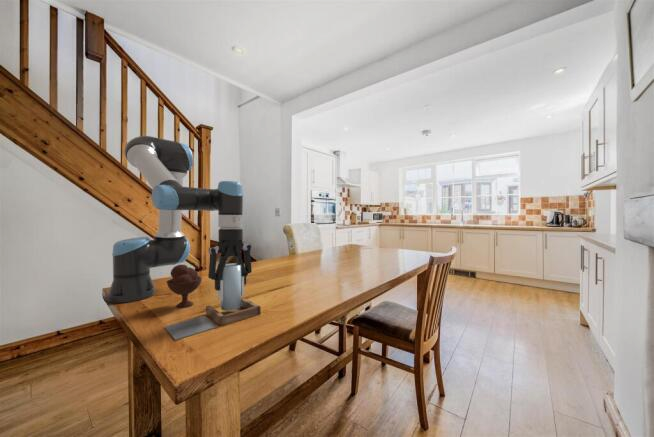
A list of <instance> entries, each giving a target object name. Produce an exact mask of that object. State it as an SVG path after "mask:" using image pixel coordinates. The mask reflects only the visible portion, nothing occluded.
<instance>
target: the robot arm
mask: <svg viewBox="0 0 654 437" xmlns="http://www.w3.org/2000/svg"><path fill="white" fill-rule="evenodd" d="M124 157H125V159H126V160H127V162H128V163H129V164H130V165H131V166H133V167H135V168H136V169H137V170H138V172H139V173H140V174H141V175H142V177H143V178H144V179H145V181H146V182H147V184H148V185H149V186H150V187H151V189H152V191H151V202H152V205H153V207H154V208H156V209H157V210H158V231H156V233H154V235H153V239H150V237H148V236H141V237H134V238H133V237H132V238H126V239H121V240H118V241H116V242H115V243H114V244H113V246H112V253H111V254H112V274H113V276H112V279H113V280H112V283H111V285H110V287H109V290H108V293H107V302H109V303H115V304H117V303H118V304H119V303H127V302H128V303H129V302H136V301H140V300H144V299H148V298H150V297H152V296H154V295H155V294H156V287H155V283H154V282H153V280H152V277H151V273H150V272H151V271H150V270H151V269H152V268H157V267H158V268H159V267H166V266H174V265H175V266H176V265H179V264H182V263H184V262H185V261H186V260H187V259H188V258H189V255H190V253H191V252H190V251H191V245H190V240H189V238H187V237H185V236H186V234H185V233H184V232H183V231H182V222H183V220H182V217H183V216H182V215H183V211H206V212H214V211H218V217H217V218H218V221H217V223H218V224H217V225H218V226H217V227H218V228H219V229H218V244H217V245H216V246H214V247H209V248H208V253H209V263H208V265H209V266H208V273H207V274H208V275H207V276H208V279H210V280H213V281H214V290H215V291H217V300H219V301H220V302H221V301H223V280H221V277H222V273H223V270H224V267H225V264H227V262H228V259H229V258H230V257H234V259H235V263H236V264H239V265H241V297H242V296H243V297H244V296H245V286H246V285H247V276H248V275H249V274H252V270H253V269H252V260H251V249H252V245H251V244H247V243H245V244H244V242H243V239H244V237H243V236H244V233H243V230H244V229H243V228H242V227H243V226H244V225H243V222H244V221H243V203H244V200H243V199H244V198H243V197H244V196H243V195H244V194H243V184H242V183H241V182H239V181H235V180H220V181H219V182H218V186H217V188H201V187H190V186H184V177H186V176H187V175H188V172H189V171H191V170H192V168H193V165H194V155H193V152H192V150H191V148H190V147H189V146H188V145H187V144H185V143H181V142H179V141H174V140H169V139H165V138H161V137H156V136H152V135H151V136H150V135H141V136H136V137H134V138H132V139H130V140H129V141H128V142H127V143H126V145H125V147H124ZM242 250H243V259H242V253H241V251H242ZM218 251H220V256H219V262H218V263H217V258H218V256H217V254H218V253H219V252H218ZM243 260H244V261H243Z"/></svg>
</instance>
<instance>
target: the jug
mask: <svg viewBox="0 0 654 437" xmlns="http://www.w3.org/2000/svg"><path fill="white" fill-rule="evenodd" d="M221 280H223V301H220V309H221V311H226V312H227V311H228V312H230V311H235V310H239V309H240V308H241V307H242V306H241V298H242V296H241V265H239V264H237V262H235V263H233V262H232V263H226V264H225V267H224V270H223V273H222V277H221Z"/></svg>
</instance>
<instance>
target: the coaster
mask: <svg viewBox="0 0 654 437" xmlns="http://www.w3.org/2000/svg"><path fill="white" fill-rule="evenodd" d="M216 328H219V326H218V325H217V324H216V323H215V322H213V321H212V320H211V319H209V318H208V317H207V315H206V316H205V315H201V316H197V317H195V318H191V319H187V320H184V321H183V320H182V321H179V322H176V323H172V324H167V325H165V326H164V329H166V331H167V332H168V333H169V334H170V336H171V337H172V338H173V339H174V341H179V340H181V339H184V338H188V337H190V336H191V337H192V336H195V335H197V334H198V335H199V334H200V333H203V332H208V331H211V330H213V329H216Z"/></svg>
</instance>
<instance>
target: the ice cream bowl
mask: <svg viewBox="0 0 654 437" xmlns="http://www.w3.org/2000/svg"><path fill="white" fill-rule="evenodd" d="M170 276H171V278H170V279H168V280H166V285H167V287H168V289H169V290H170V291H171V292H172V293H174V294H176V295H179V296H181V297H182V298H181V302H179V303H177V304H176V306H175V308H177V309H187V308H190V307H193V306H194V302H193V301H191V300H189V297H188V296H189V295H190V294H192V293H193V292H194V291H195V290H196V289H198V288H199V287H200V285H201V283H202V279H203V278H202V277H201V276H199V274H198V271H197V270H195V269H194V268H192V267H190V266H189V267H188V265H186V264H176V265H175V266H174V267H172V269H171V271H170Z"/></svg>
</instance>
